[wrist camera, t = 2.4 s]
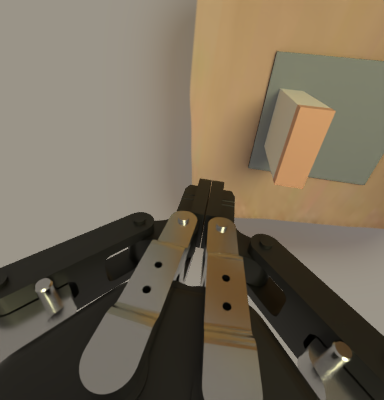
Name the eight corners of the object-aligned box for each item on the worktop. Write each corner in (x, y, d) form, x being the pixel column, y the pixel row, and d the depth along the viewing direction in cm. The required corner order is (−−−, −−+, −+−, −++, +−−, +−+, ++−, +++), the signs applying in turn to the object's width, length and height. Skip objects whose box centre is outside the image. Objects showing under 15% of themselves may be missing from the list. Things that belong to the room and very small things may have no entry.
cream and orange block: (303, 91, 29) (335, 111, 19) (284, 148, 34) (302, 188, 24) (280, 88, 29) (300, 107, 20) (264, 146, 34) (274, 184, 24)
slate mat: (433, 65, 26) (436, 66, 26) (363, 183, 35) (364, 185, 35) (276, 51, 28) (277, 51, 27) (248, 166, 37) (248, 168, 36)
